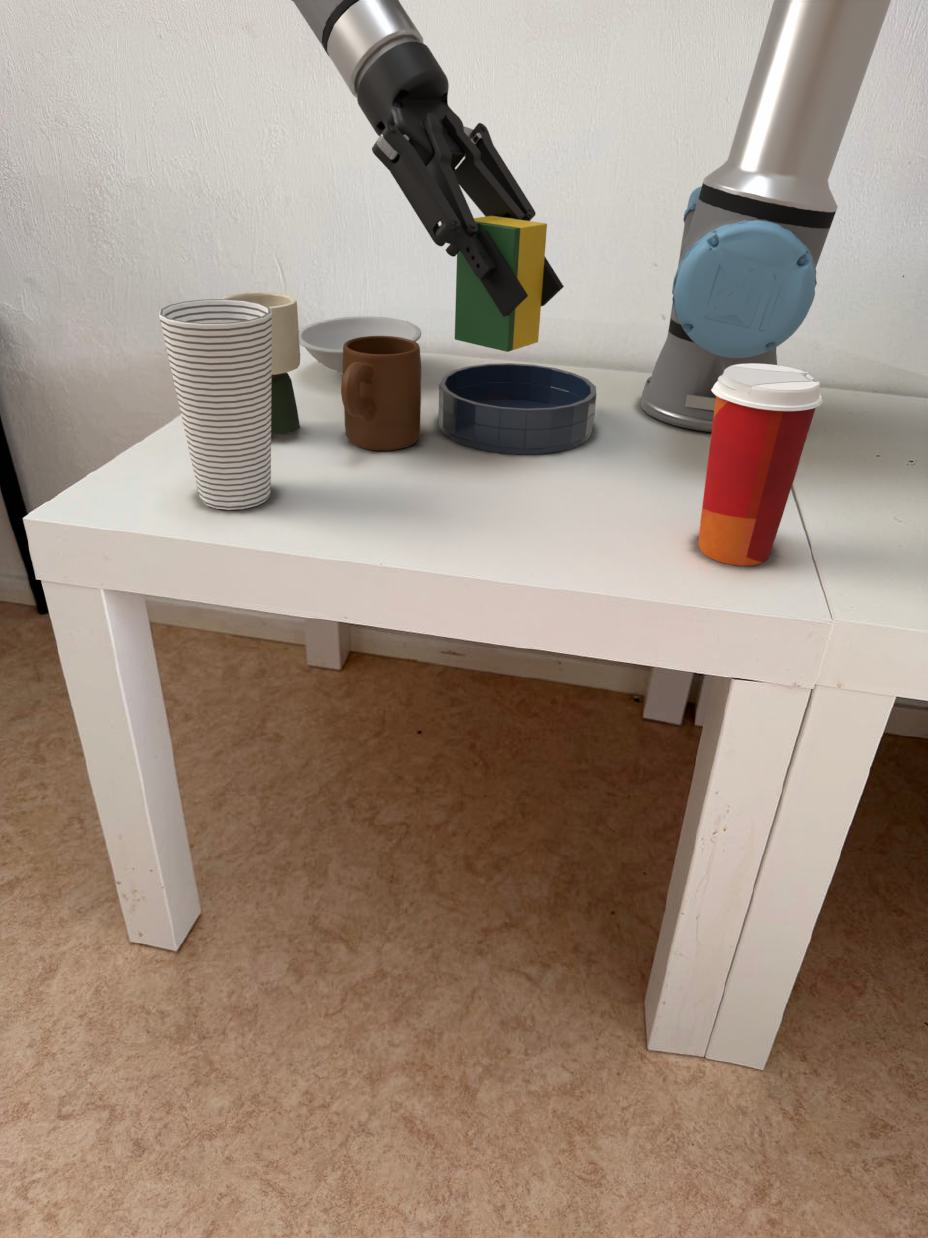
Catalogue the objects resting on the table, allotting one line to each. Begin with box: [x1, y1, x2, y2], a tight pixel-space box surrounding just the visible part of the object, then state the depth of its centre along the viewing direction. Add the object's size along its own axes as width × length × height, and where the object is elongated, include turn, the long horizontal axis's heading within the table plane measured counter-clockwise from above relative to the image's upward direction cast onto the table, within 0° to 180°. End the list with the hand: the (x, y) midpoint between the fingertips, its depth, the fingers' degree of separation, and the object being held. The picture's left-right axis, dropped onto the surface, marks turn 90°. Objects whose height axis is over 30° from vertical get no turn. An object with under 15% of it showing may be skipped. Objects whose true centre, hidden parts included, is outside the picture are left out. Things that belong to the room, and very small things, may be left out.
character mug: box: [221, 292, 301, 436], centre depth 87 cm, size 11×7×13 cm, turn 167°
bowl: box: [437, 362, 598, 455], centre depth 93 cm, size 16×16×4 cm
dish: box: [299, 315, 422, 373], centre depth 107 cm, size 18×14×5 cm
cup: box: [158, 298, 272, 511], centre depth 72 cm, size 8×8×16 cm
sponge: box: [454, 216, 548, 353], centre depth 78 cm, size 5×6×10 cm
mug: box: [340, 336, 422, 452], centre depth 86 cm, size 12×8×9 cm, turn 162°
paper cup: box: [698, 363, 823, 567], centre depth 67 cm, size 8×8×14 cm
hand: (533, 300), depth 77 cm, fingers closed on sponge, 5 cm apart
